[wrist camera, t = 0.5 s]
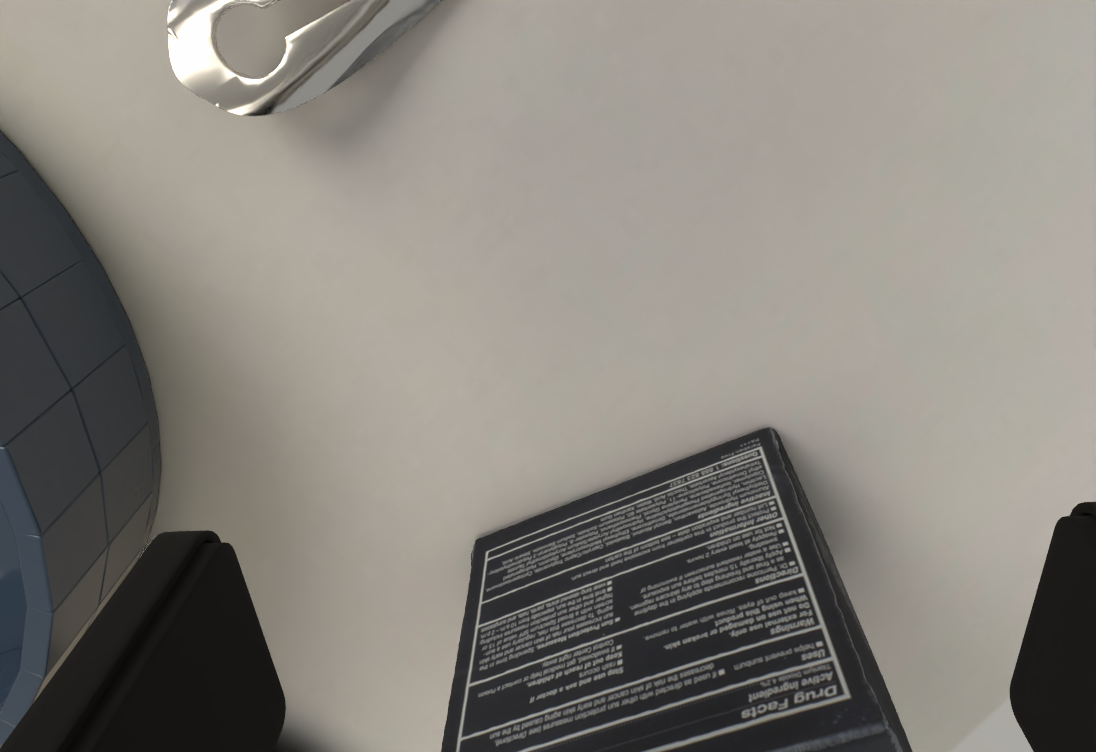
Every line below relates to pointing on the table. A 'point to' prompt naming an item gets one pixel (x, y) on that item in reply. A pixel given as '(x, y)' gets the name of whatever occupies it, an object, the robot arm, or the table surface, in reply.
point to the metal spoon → (285, 51)
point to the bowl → (63, 438)
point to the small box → (669, 623)
